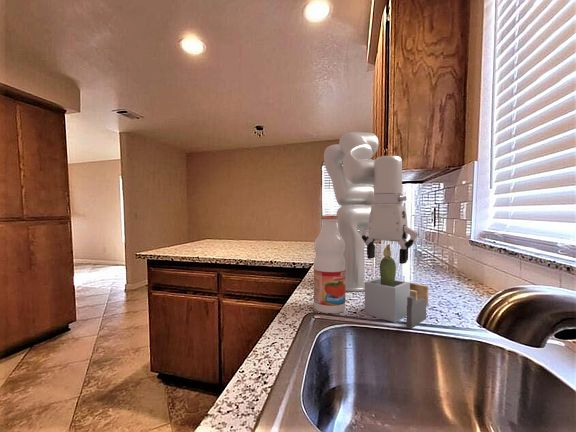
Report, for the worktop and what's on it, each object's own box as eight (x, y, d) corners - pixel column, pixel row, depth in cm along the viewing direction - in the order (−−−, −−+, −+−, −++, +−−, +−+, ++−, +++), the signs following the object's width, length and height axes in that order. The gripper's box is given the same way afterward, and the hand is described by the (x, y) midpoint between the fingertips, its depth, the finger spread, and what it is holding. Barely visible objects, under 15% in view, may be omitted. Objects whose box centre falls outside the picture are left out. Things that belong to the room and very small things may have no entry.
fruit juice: (327, 301, 92) (327, 215, 92) (351, 309, 85) (352, 215, 85) (307, 308, 86) (307, 215, 85) (331, 317, 79) (331, 215, 78)
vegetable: (379, 309, 84) (381, 242, 84) (395, 312, 83) (396, 243, 82) (378, 314, 80) (379, 244, 80) (394, 317, 79) (396, 245, 78)
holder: (380, 303, 90) (380, 284, 90) (394, 297, 97) (394, 279, 96) (415, 312, 82) (415, 291, 82) (428, 305, 89) (428, 285, 89)
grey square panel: (406, 327, 72) (406, 297, 72) (421, 317, 78) (421, 290, 78) (411, 328, 71) (411, 298, 71) (426, 318, 78) (426, 291, 77)
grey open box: (364, 313, 81) (364, 282, 81) (380, 306, 88) (380, 277, 88) (395, 322, 75) (395, 288, 75) (409, 313, 81) (409, 282, 81)
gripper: (424, 200, 77) (422, 263, 78) (367, 201, 90) (366, 255, 90) (412, 200, 72) (411, 267, 73) (353, 200, 85) (353, 258, 85)
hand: (386, 260), depth 82 cm, fingers open, 9 cm apart
